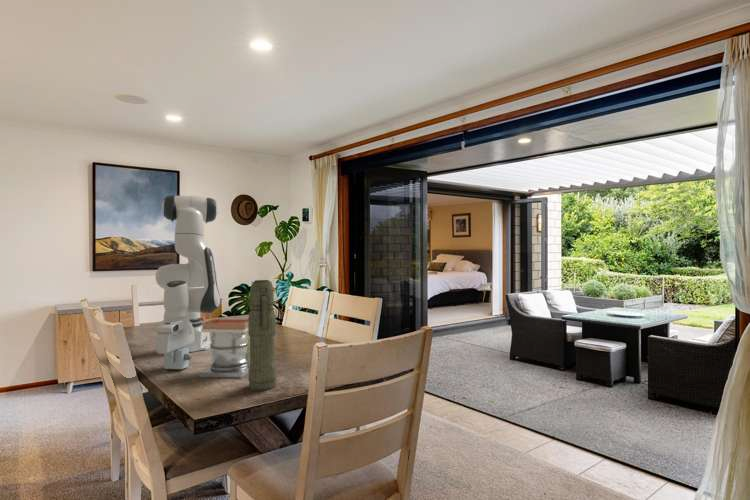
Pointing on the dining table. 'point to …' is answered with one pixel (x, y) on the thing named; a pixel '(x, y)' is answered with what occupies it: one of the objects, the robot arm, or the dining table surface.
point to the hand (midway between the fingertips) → (176, 360)
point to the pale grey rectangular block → (178, 359)
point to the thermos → (262, 336)
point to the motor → (227, 348)
